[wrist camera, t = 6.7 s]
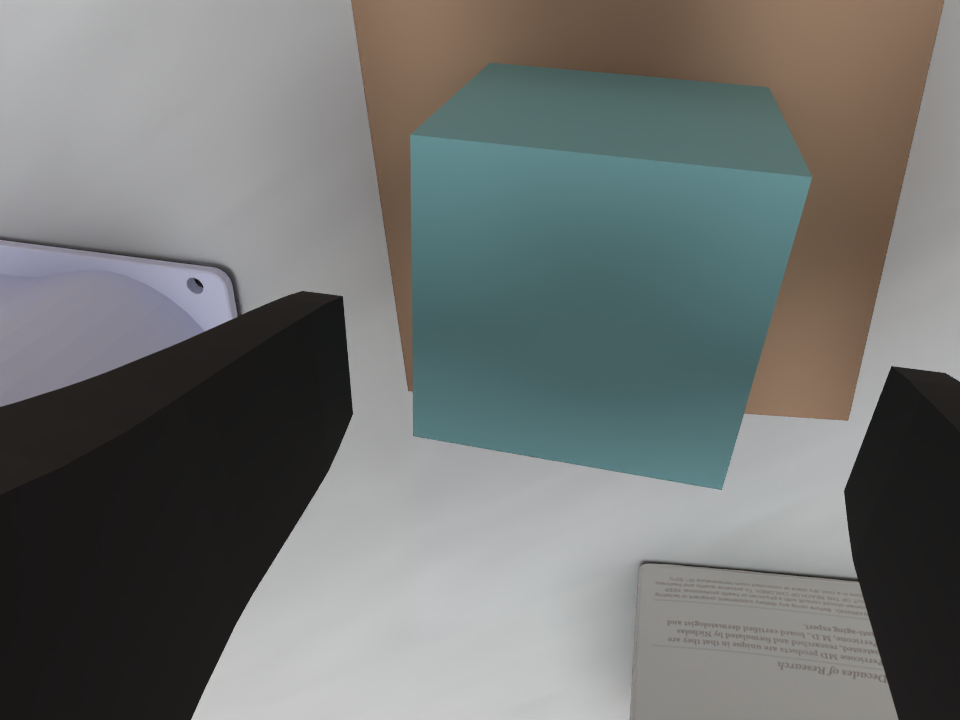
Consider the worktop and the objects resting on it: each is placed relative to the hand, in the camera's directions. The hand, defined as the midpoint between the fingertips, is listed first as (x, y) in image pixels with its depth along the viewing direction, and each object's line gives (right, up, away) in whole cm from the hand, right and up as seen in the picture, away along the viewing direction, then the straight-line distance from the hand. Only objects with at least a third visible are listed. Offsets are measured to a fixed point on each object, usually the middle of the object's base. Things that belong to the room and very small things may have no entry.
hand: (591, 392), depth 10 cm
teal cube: (+1, +3, +5) cm, 6 cm away
